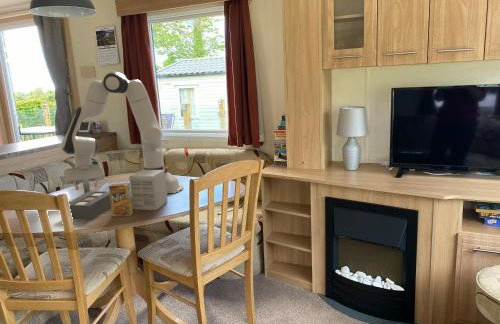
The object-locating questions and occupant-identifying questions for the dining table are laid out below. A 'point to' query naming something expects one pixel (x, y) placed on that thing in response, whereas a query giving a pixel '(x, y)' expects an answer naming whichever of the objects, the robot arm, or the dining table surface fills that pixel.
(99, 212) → the board
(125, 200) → the candy box
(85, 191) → the steel stylus
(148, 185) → the supplement box
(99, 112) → the robot arm
